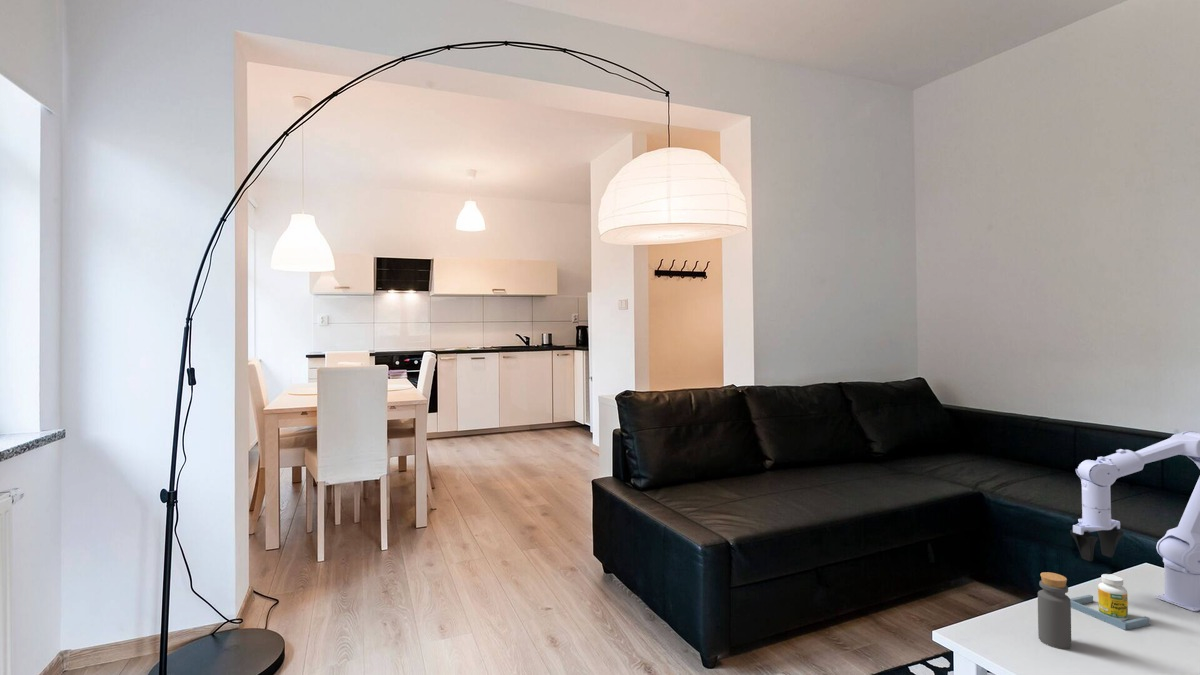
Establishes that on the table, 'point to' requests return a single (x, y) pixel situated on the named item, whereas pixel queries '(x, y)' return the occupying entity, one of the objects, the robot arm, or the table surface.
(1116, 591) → the supplement bottle
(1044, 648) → the table surface
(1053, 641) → the bottle
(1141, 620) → the blue-grey u-shaped bracket
